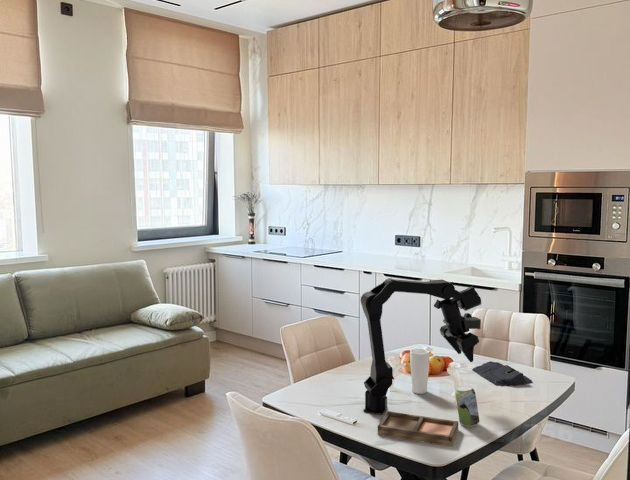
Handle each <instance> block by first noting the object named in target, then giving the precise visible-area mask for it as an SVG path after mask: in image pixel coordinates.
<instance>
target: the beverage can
mask: <svg viewBox="0 0 630 480" xmlns="http://www.w3.org/2000/svg"><path fill="white" fill-rule="evenodd" d="M455 400H456V405H457V406H456V407H457V411H458V412H457V413H458V419H459V421H458V422H459V423H460V425H462V426H463V427H466V428H471V427H476V426H477V425H478V424H479V423H480V415H479V408H478V402H477V396H476V390H475V389H474V388H473V386H472V385H461V386H458V387H456V390H455Z"/></svg>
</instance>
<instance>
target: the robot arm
mask: <svg viewBox="0 0 630 480" xmlns="http://www.w3.org/2000/svg"><path fill="white" fill-rule="evenodd" d="M454 285H455V284H453V283H451V282H450V281H447V280H444V279H434V280H428V281H419V280H407V279H405V280H404V279H394V278H391V277H389V278H387V279H385V280H384V281H382V283H380V284H378V285H376V286H375V287H372V289H370V291H366V292H364V293H363V294H362V295H361V296H360V304H361V305H360V306H361V307H362V310H363V313H364V316H365V318H366V321H367V329H368V336H369V344H370V352H371V359H372V360H371V366H370V376H368V377H367V379H366V380H365V381H364V382H363V385H364V388H365V389H366V391H364V392H365V393H364V398H365V399H364V400H365V401H364V402H365V404H364V405H365V406H364V409H363V412H364V413H371V414H378V415H383V414H384V413H385V412H386V411H387V409H388V396H387V393H388V391H389V389H390V388H391V386H393V380H395V377H394V374H393V372H394V371H393V370H394V369H393V367H392V365H390V363H389V362H387V360H386V353H385V347H384V346H385V345H384V338H383V337H384V336H383V331H382V323H381V320H382V319H381V318H382V316H383V315H382V314H383V306H384V304H385V303H386V302H388V301H389V299H390V298H391V297H392V295H393V294H394V293H396V292H398V293H407V294H409V293H410V294H419V295H420V294H422V295H423V294H424V295H430V296H432V297H435V298H440V299H442V300H439V299H436V301H435V303H434V304H433V307H434V308H435V309H438V310H439V309H440V310H441V312H442V316H443V319H442V322H443V323H444V324H445V325H443V326H441V327H440V328H439V332H440V335H441V336H442V337H443V338H444V339H445V340H446V342H447V343H448V344H449V345H450V347H452V348H453V350H454V351H455V352H456V354H458V355H461V354H463V355H464V357H466V359H467V360H468V361H469V362H470V363H472V362H474V351H475V349H474V348H475V347H476V346H477V345H478V344H479V343H480V340H479V336H478V335H476V334H474V333H473V332H470V331H471V330H481V326H482V323H481V322H482V321H481V320H482V319H480V318H479V317H476V316H472V314H471V313H468V312H467V311H470V310H471V309H474V308H476V307H479V306H481V305H482V299H481V297H480V296H479V294H478V292H477V290H476V289H475V287H473V286H469V287H467V288H464V289H463V290H461V291H460V290H456V288H455V286H454ZM461 310H463V311H464V312H465V311H466V312H467V313H466V312H465V313H464V314H463V315H462V314H461Z"/></svg>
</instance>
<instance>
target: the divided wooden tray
mask: <svg viewBox="0 0 630 480" xmlns="http://www.w3.org/2000/svg"><path fill="white" fill-rule="evenodd" d="M458 431H459V421H456V420H451V419H443V418H438V417H437V418H436V417H429V416H423V415H422V416H421V415H415V414H409V413H403V412H394V411H387V412H386V413H385V415H384V417H383V418H382V419H381V420H380V422H379V423H378V425H377V435H378V436H383V435H384V436H385V437H391V438H395V439H396V438H397V439H402V440H403V439H404V440H408V441H409V440H410V441H413V442H414V441H415V442H422V443H425V444H427V443H428V444H434V445H439V446H445V447H446V446H447V447H453V444H454V441H455V440H456V437H457V434H458Z"/></svg>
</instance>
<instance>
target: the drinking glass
mask: <svg viewBox="0 0 630 480" xmlns="http://www.w3.org/2000/svg"><path fill="white" fill-rule="evenodd" d="M409 353H410V356H409V360H410V361H409V363H410V377H411V392H413V393H414V394H418V395H422V394H423V395H424V394H426V393H427V392H428V381H429V380H428V379H429V369H430V368H429V367H430V351H429V350H427V349H425V348H413V349H411V350H410V352H409Z"/></svg>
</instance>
